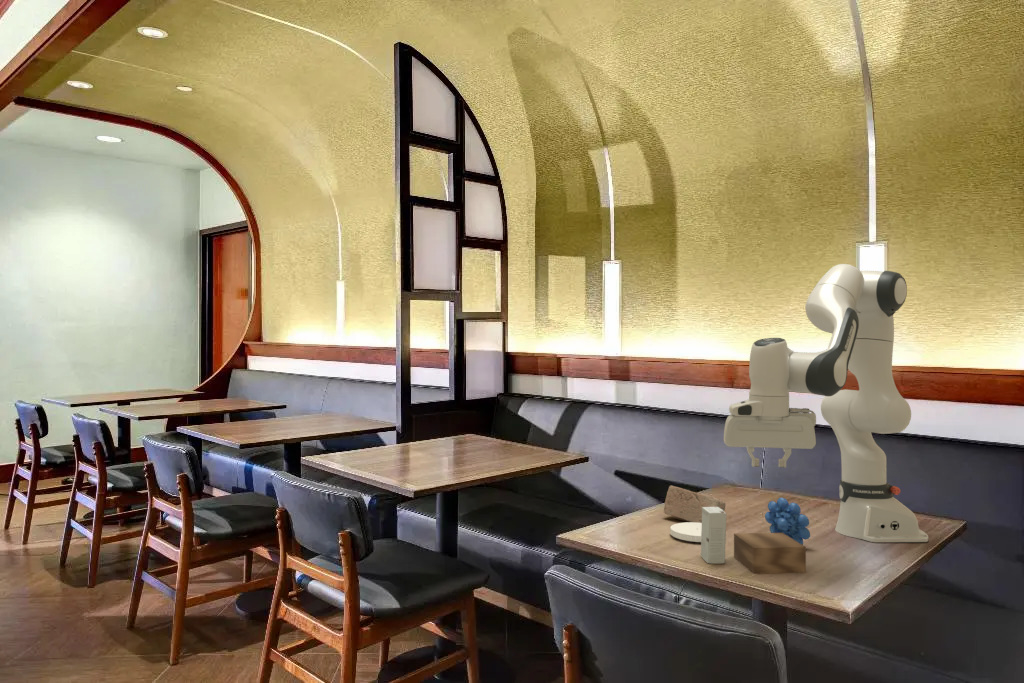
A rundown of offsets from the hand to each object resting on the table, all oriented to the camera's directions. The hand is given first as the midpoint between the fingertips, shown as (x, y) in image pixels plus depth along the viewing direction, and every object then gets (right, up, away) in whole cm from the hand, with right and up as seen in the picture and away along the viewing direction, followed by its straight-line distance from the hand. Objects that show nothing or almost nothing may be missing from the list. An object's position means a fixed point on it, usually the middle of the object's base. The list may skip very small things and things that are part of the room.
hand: (768, 466), depth 169 cm
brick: (-8, -23, +37) cm, 44 cm away
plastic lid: (-11, -23, +23) cm, 34 cm away
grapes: (+9, -23, +15) cm, 29 cm away
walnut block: (0, -23, 0) cm, 23 cm away
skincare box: (-12, -23, +3) cm, 26 cm away
